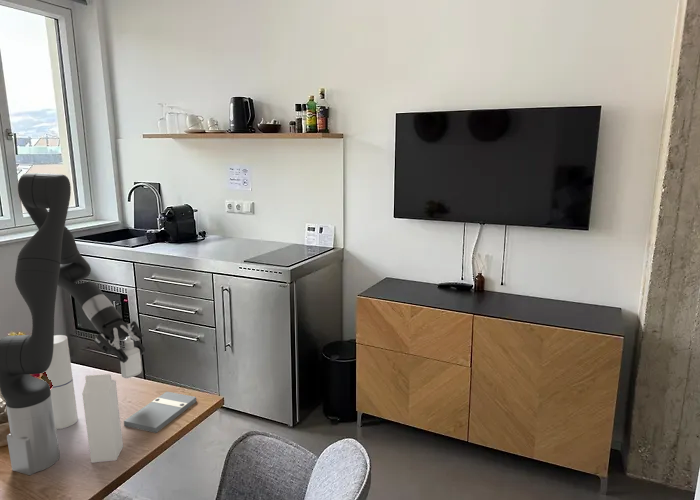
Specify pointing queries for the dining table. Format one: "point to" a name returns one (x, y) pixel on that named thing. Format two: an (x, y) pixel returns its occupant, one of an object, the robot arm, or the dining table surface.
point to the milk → (102, 418)
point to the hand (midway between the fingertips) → (134, 356)
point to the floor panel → (160, 412)
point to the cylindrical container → (62, 384)
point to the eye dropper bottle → (131, 360)
